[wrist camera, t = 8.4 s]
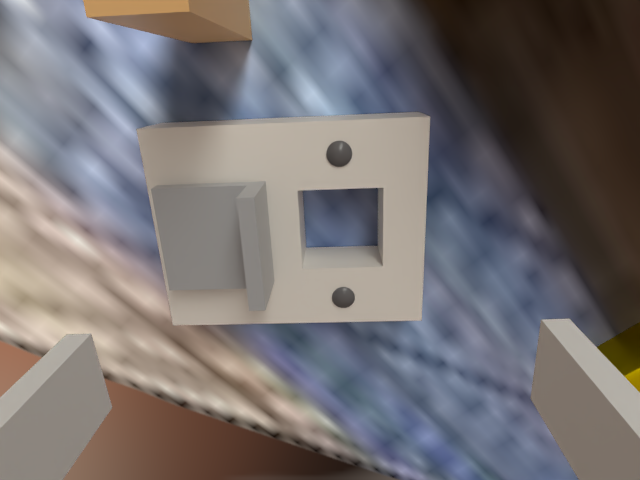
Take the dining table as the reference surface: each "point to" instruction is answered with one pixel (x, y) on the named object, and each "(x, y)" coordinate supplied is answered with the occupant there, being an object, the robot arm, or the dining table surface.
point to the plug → (178, 18)
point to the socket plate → (288, 211)
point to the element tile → (625, 354)
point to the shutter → (216, 237)
